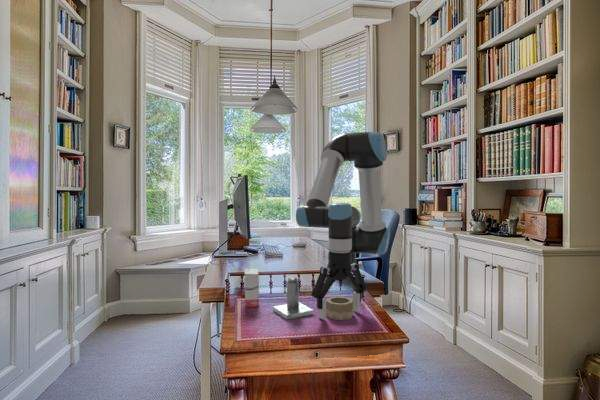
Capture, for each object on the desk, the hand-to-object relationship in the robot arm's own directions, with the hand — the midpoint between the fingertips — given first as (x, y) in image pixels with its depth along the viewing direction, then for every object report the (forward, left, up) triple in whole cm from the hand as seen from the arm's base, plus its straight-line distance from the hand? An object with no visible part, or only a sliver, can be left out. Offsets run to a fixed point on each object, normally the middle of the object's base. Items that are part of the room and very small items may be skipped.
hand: (339, 315), depth 141 cm
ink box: (+20, -26, 0) cm, 33 cm away
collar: (0, 0, 0) cm, 0 cm away
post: (+12, -10, 0) cm, 16 cm away
